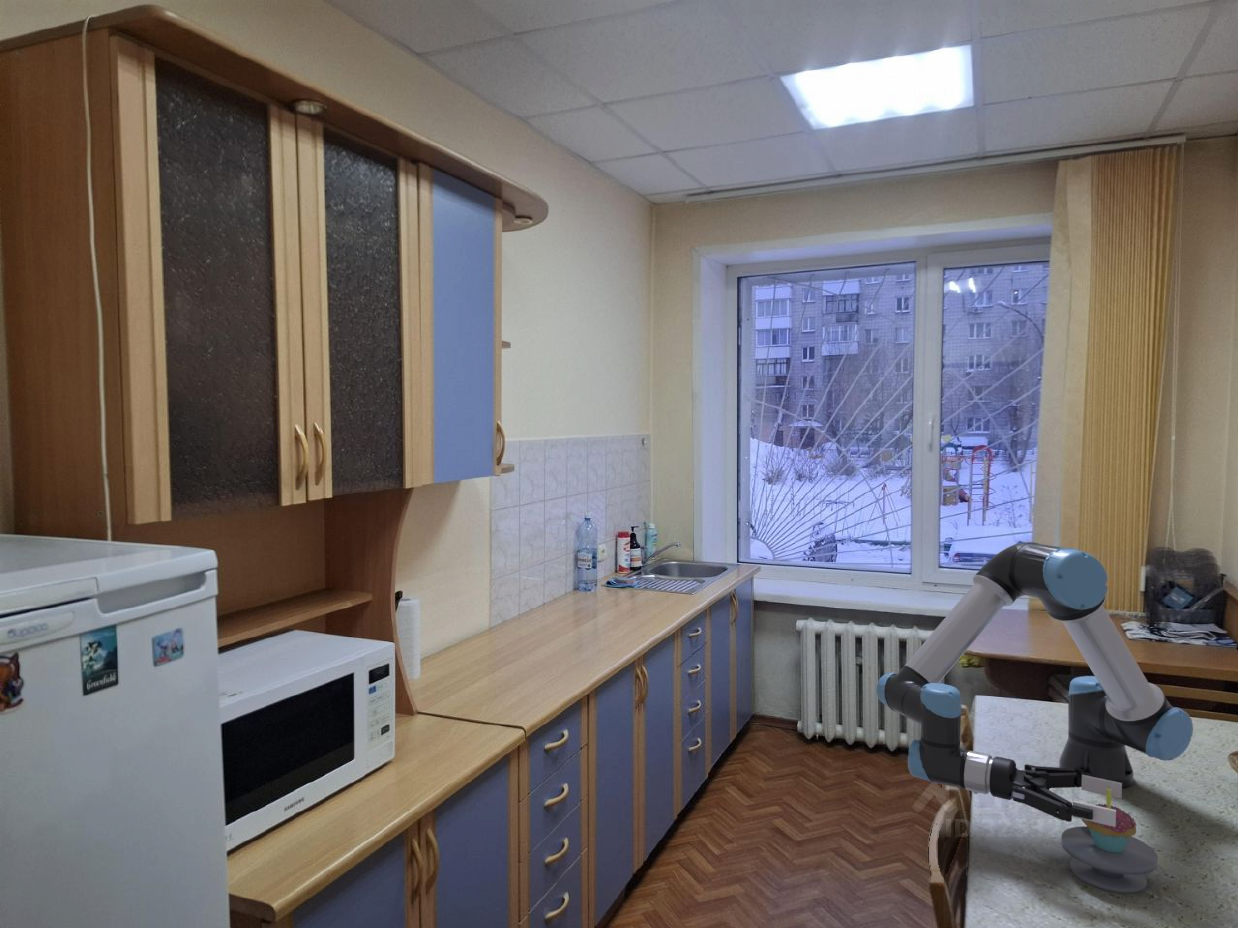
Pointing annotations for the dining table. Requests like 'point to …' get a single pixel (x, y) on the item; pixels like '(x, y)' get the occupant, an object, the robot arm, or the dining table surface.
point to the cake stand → (1109, 862)
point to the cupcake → (1112, 829)
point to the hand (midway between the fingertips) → (1119, 804)
